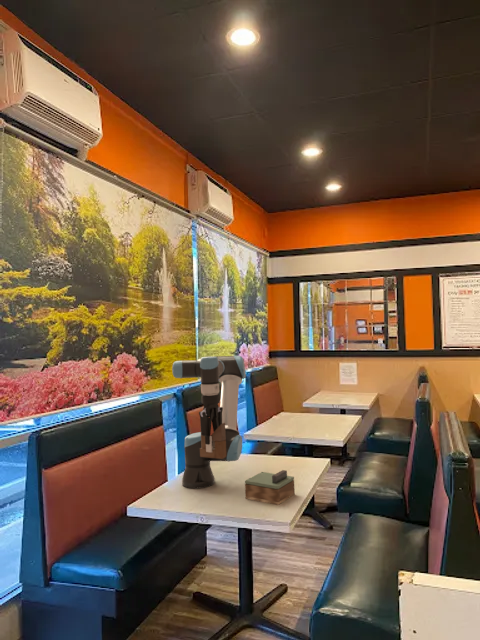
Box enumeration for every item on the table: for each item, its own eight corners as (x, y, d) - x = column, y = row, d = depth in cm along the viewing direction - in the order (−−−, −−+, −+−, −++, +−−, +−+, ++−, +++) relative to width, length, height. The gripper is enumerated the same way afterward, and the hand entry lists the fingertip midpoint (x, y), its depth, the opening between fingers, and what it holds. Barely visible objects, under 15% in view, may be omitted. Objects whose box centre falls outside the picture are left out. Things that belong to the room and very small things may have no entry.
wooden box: (245, 498, 209) (244, 484, 209) (262, 488, 220) (262, 475, 220) (278, 504, 200) (277, 489, 200) (294, 494, 211) (294, 480, 211)
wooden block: (222, 459, 200) (220, 414, 200) (199, 457, 205) (197, 413, 205) (226, 456, 204) (224, 413, 204) (204, 454, 208) (202, 412, 208)
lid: (244, 483, 209) (244, 473, 209) (262, 474, 220) (261, 465, 220) (277, 489, 200) (277, 478, 200) (294, 479, 211) (293, 469, 211)
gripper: (204, 397, 195) (207, 456, 195) (229, 391, 210) (231, 446, 209) (190, 396, 200) (192, 454, 199) (215, 391, 214) (217, 445, 213)
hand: (212, 450), depth 204 cm, fingers closed on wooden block, 4 cm apart
